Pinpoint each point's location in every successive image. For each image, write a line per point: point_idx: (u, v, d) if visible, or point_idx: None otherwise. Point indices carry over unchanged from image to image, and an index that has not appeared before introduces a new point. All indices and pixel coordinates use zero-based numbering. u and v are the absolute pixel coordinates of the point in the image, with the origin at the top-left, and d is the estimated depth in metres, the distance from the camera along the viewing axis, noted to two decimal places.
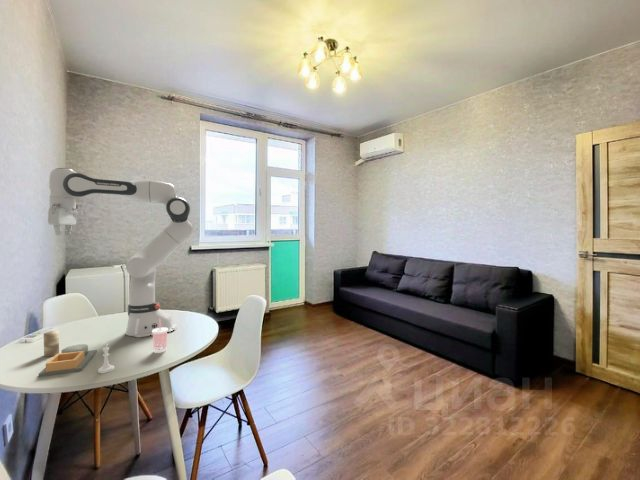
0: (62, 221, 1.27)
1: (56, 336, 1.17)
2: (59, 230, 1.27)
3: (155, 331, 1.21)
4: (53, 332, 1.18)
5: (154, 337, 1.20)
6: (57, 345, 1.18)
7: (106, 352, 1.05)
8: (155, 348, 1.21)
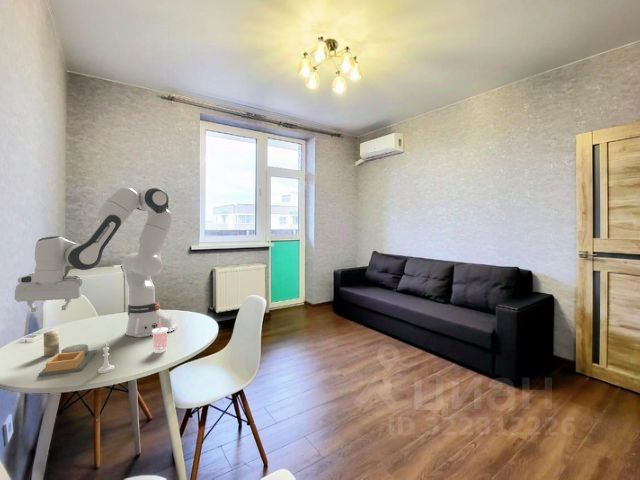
0: None
1: (56, 336, 1.17)
2: (68, 304, 1.20)
3: (155, 331, 1.21)
4: (53, 332, 1.18)
5: (154, 337, 1.20)
6: (57, 345, 1.18)
7: (106, 352, 1.05)
8: (155, 348, 1.21)
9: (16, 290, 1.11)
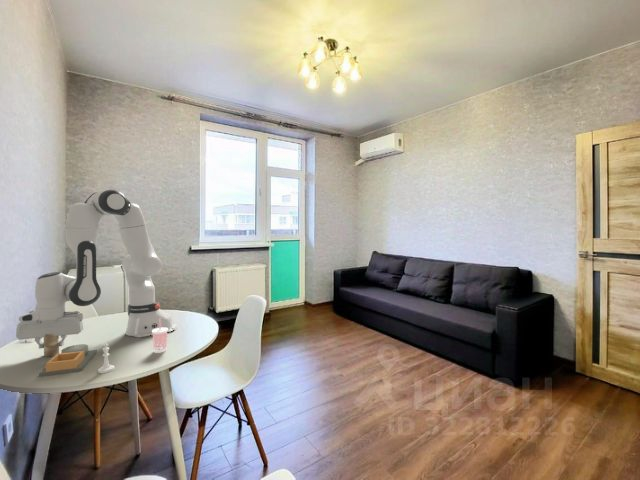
0: None
1: (56, 336, 1.17)
2: (64, 339, 1.20)
3: (155, 331, 1.21)
4: None
5: (154, 337, 1.20)
6: None
7: (106, 352, 1.05)
8: (155, 348, 1.21)
9: (17, 328, 1.12)
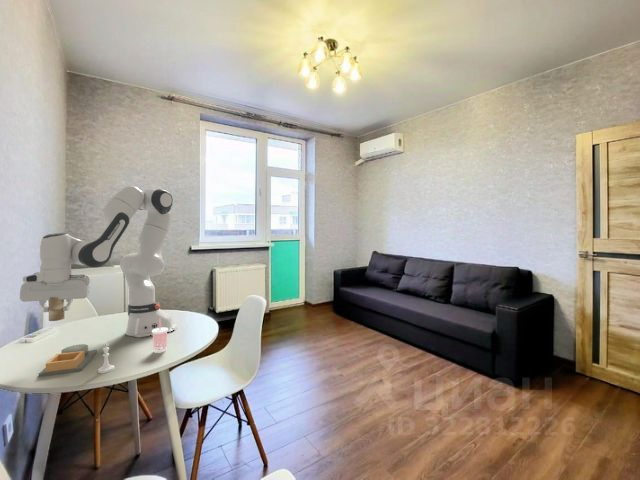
0: None
1: (61, 300, 1.12)
2: (69, 304, 1.14)
3: (155, 331, 1.21)
4: None
5: (154, 337, 1.20)
6: (62, 309, 1.12)
7: (106, 352, 1.05)
8: (155, 348, 1.21)
9: (21, 290, 1.06)
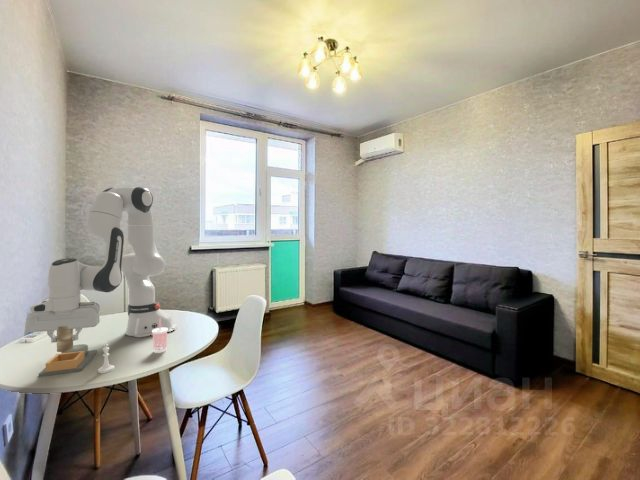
0: None
1: (70, 329, 1.06)
2: (78, 333, 1.09)
3: (155, 331, 1.21)
4: None
5: (154, 337, 1.20)
6: (71, 339, 1.07)
7: (106, 352, 1.05)
8: (155, 348, 1.21)
9: (28, 320, 1.01)
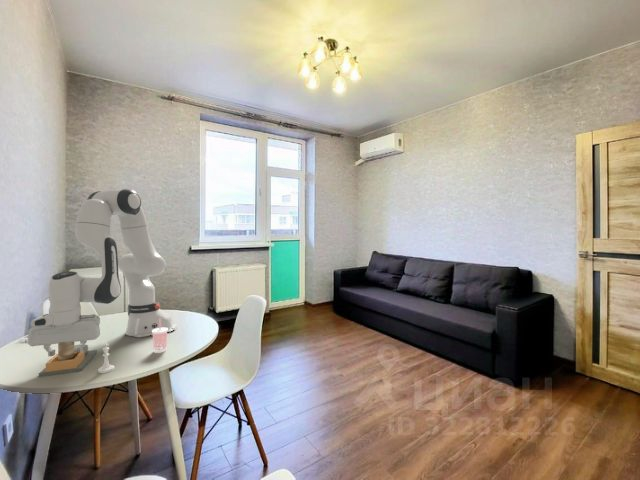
0: None
1: (72, 344, 1.07)
2: (83, 345, 1.09)
3: (155, 331, 1.21)
4: None
5: (154, 337, 1.20)
6: (72, 354, 1.07)
7: (106, 352, 1.05)
8: (155, 348, 1.21)
9: (29, 334, 1.01)
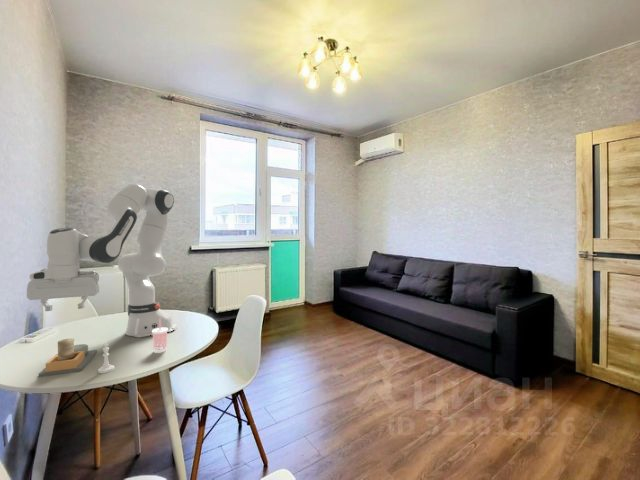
0: None
1: (71, 345, 1.07)
2: (84, 301, 1.10)
3: (155, 331, 1.21)
4: (68, 340, 1.07)
5: (154, 337, 1.20)
6: (72, 354, 1.07)
7: (106, 352, 1.05)
8: (155, 348, 1.21)
9: (28, 287, 1.01)
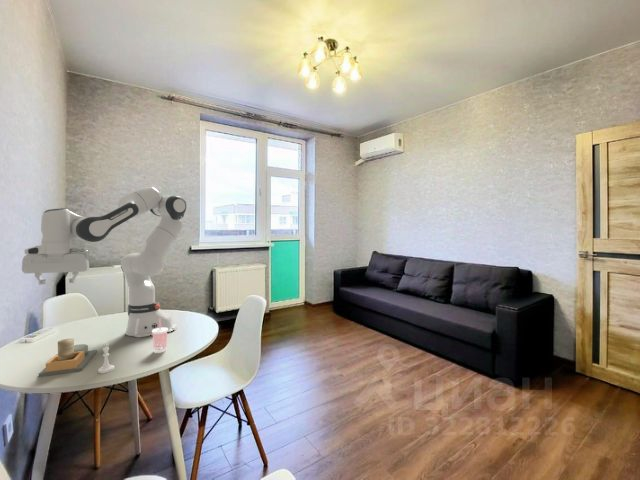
0: None
1: (71, 345, 1.07)
2: (75, 277, 1.19)
3: (155, 331, 1.21)
4: (68, 340, 1.07)
5: (154, 337, 1.20)
6: (72, 354, 1.07)
7: (106, 352, 1.05)
8: (155, 348, 1.21)
9: (23, 261, 1.10)
